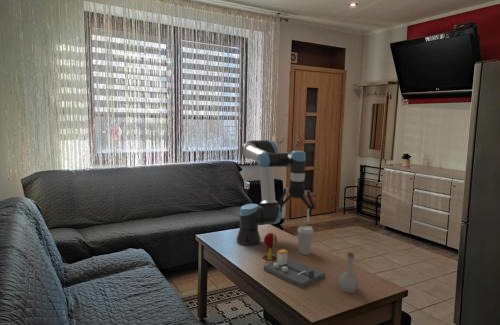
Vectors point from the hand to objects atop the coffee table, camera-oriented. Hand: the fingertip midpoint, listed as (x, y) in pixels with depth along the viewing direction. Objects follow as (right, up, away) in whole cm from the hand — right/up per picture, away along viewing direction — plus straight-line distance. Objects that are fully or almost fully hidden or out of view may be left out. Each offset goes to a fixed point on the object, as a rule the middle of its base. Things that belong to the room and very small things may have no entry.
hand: (295, 219), depth 185 cm
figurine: (-14, -23, +6) cm, 28 cm away
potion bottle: (+21, -28, -25) cm, 43 cm away
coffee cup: (+8, -22, +18) cm, 30 cm away
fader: (-8, -22, -5) cm, 24 cm away
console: (-2, -25, -10) cm, 27 cm away
